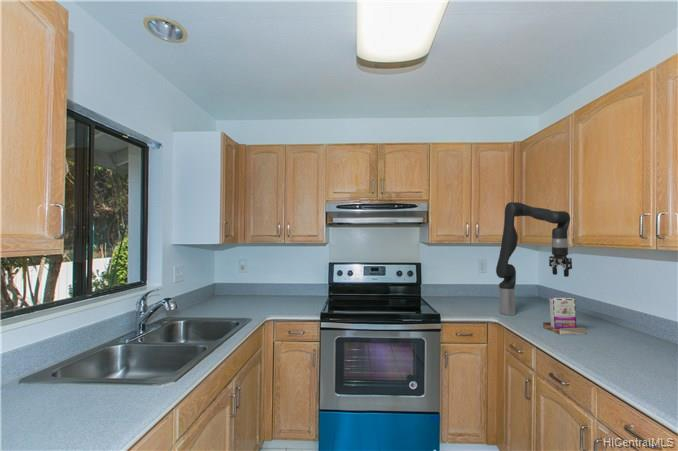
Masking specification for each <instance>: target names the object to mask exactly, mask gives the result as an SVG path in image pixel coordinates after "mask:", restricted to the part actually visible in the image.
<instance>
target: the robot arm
mask: <svg viewBox="0 0 678 451" xmlns="http://www.w3.org/2000/svg"><path fill="white" fill-rule="evenodd" d="M515 217H516V218H517V217H531V218H532V219H535V220H538V221H543V222H548V223H551V224H557V226H556V227H554V228H553V229H552V230H551V255H552V256H549V259H548V265H549V267H551V271H552V275H553V276H556V275H558V267H559V266H561V268H562V269H563V277H566V278H567V277H569V276H570V270H572V269H573V262H572V260H573V258H572V257H568V255H569V242H568V241H569V240H568V229H569V226H570V222H571V216H570V214H569V213H568V212H567V211H564V210H563V211H562V210H551V209H549V208H541V207H536V206H535V207H534V206H530V205H527V204H525V203H523V202H517V201H516V202H515V201H513V202H512V201H511V202H508V203H507V204H506V205H505V207H504V221H503V222H504V223H503V230H502V237H501V246H500V250H499V256H498V261H497V264H496V268H495V273H496V276H497V277H498V278H499V279H503V280H502V281H501V282H500V283H498V289H499V290H498V294H499V298H498V308H499V311H498V312H499V314H501V315H505V316H514V315H516V296H515V295H516V294H515V293H516V292H515V286H516V284H517V283H516V281H517V271H516V268H515V266H514V265H513V264H510V263H509V260H510V257H511V256H512V254H513V253H514V252H515V250H516V248H517V245H518V240H519V236H518V232H517V230H516V227H515Z"/></svg>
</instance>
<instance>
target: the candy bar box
mask: <svg viewBox="0 0 678 451" xmlns="http://www.w3.org/2000/svg"><path fill="white" fill-rule="evenodd" d="M576 312H577V311H576V299H575V298H572V297H549V313H550V314H549V316H550V317H549V318H550V322H551V327H553V328H555V329H560V328H578V327H577V313H576Z"/></svg>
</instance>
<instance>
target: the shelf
mask: <svg viewBox="0 0 678 451" xmlns="http://www.w3.org/2000/svg"><path fill="white" fill-rule="evenodd" d="M542 328H543V329H545V330H547V331H550V332H553V333H555V334H557V335H560V336H573V335H572V334H576V335H586V334H587V332H586V331H587V330H586V327H577V328H560V329H555V328H553V327H551V321H544V322H542Z"/></svg>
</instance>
